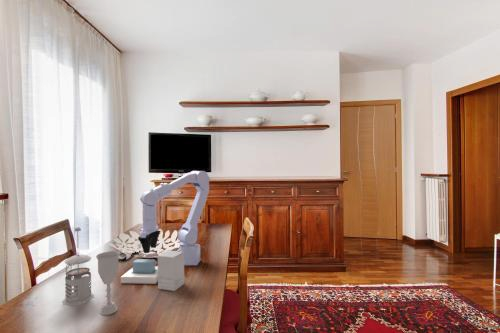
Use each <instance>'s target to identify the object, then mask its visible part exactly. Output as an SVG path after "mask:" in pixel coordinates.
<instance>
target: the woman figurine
mask: <svg viewBox="0 0 500 333" xmlns="http://www.w3.org/2000/svg"><path fill="white" fill-rule="evenodd" d="M119 252H120V254H119V256H118V261H119V260H123V259H125V258H126V259H125V261H127V260H129V259H130V258H131V257H132V256H131V255H129V254H126V253H124V251H119Z"/></svg>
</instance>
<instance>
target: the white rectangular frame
mask: <svg viewBox="0 0 500 333" xmlns="http://www.w3.org/2000/svg"><path fill="white" fill-rule="evenodd" d="M120 283H121V284H149V285H150V284H151V285H152V284H153V285H155V284H158V265H155V273H154V274H133V267H131V268H130V269H129V270H128V271H126V272H125V273H124V274H123V275H122V276H120Z"/></svg>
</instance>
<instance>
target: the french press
mask: <svg viewBox="0 0 500 333" xmlns="http://www.w3.org/2000/svg"><path fill="white" fill-rule="evenodd" d="M80 231H82V229H81V227H76V228H74V232H76V233H77V234H76V235H77V237H76V238H77V239H76V240H77V246H76V247H79V232H80ZM91 259H92V257H91V256H90V255H88V254H83V253H82V254H80V253H77V254H75V255H72V256H70V257H68V258H67V259H65V260H64V264H66V265H65V266H66V267H65V278H64V279H65V280H64V282H65V283H64V284H65V285H64V286H65V287H64V288H65V291H64V292H65V296H64V299H63V300H62V301H61V304H62V303H63V304H64V305H63V304H62V305H63V306H71V307H72V306H73V307H74V306H78V305H82V304H85V303H88V302H89V301H92V300H93V298H95V294H94V293H92V273H91V271H90V268H89V267H86V266H85V267H80V266H79V265H81V264H84V263H87V262H90V261H91ZM68 265H69V267H70V270H67V269H68ZM73 266H77V268H73V269H72V267H73ZM85 275H86V276H85Z"/></svg>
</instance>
